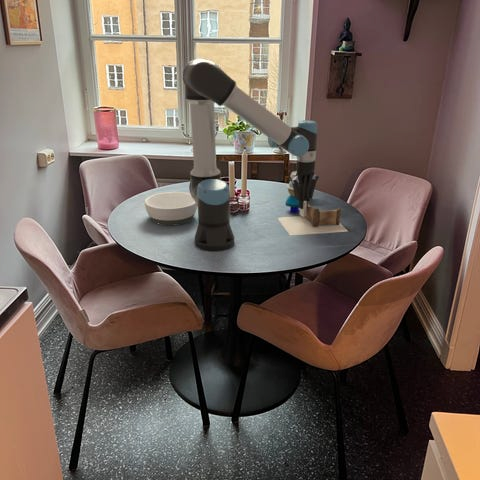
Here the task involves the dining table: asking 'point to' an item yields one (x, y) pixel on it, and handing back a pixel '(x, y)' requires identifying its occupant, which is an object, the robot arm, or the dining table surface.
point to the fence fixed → (326, 217)
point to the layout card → (307, 226)
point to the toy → (292, 199)
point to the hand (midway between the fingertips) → (302, 215)
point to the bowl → (171, 207)
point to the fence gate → (309, 213)
